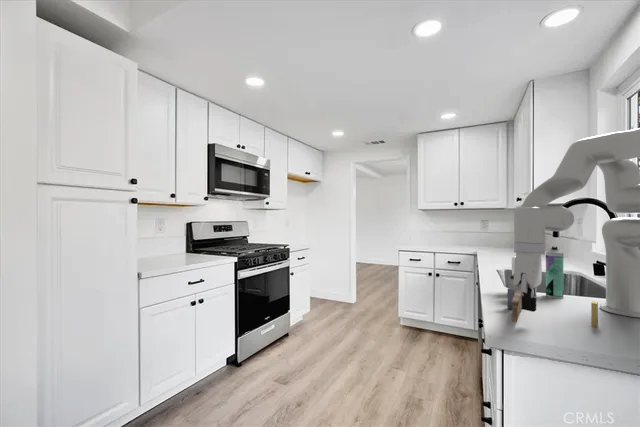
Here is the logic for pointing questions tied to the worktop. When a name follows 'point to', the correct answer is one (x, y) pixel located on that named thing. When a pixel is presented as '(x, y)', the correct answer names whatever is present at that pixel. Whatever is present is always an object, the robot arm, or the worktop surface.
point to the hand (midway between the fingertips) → (529, 310)
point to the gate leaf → (516, 305)
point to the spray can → (554, 273)
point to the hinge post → (510, 297)
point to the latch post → (594, 314)
